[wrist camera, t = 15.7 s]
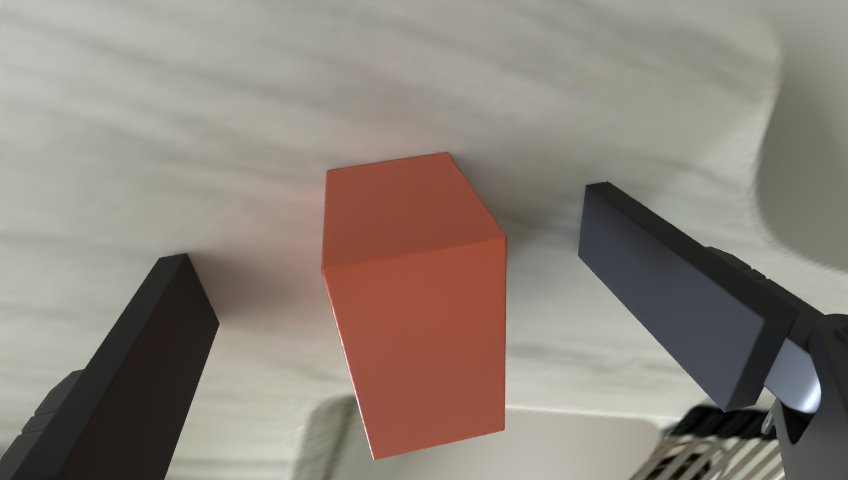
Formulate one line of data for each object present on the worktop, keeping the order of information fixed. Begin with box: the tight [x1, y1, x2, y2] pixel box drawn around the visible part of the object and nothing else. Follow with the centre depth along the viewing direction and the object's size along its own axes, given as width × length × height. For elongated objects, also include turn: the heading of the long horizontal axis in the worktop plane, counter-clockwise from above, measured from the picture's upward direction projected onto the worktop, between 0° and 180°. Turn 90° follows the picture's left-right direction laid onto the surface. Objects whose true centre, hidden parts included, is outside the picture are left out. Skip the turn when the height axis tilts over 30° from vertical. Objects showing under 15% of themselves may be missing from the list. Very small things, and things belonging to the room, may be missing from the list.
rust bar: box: [321, 152, 507, 460], centre depth 11 cm, size 6×4×5 cm, turn 5°
